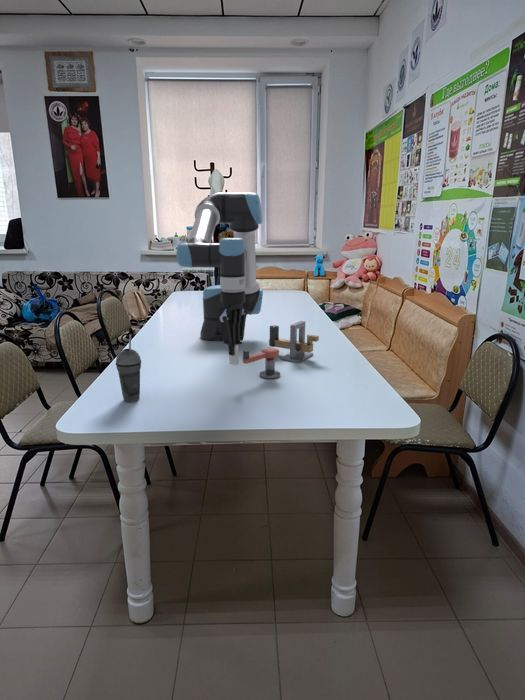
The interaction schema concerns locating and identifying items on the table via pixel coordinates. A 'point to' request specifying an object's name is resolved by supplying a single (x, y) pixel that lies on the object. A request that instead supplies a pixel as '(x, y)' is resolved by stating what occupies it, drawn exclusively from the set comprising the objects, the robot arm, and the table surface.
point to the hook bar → (284, 343)
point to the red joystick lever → (260, 355)
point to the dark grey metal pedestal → (269, 369)
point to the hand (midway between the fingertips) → (234, 363)
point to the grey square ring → (294, 354)
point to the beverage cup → (129, 373)
